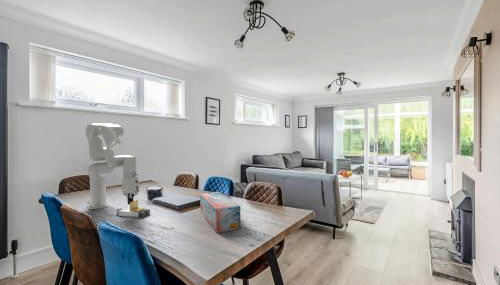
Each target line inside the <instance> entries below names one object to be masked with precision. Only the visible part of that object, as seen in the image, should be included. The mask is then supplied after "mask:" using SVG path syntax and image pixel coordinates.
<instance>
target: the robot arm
mask: <svg viewBox="0 0 500 285" xmlns="http://www.w3.org/2000/svg"><path fill="white" fill-rule="evenodd" d="M124 130H125V129H124V128H123V127H122V126H121V125H119V124H113V123H99V122H97V123H96V122H95V123H89V124H87V125H86V127H85V136H86V140H87V142H88V153H89V159H90V161H92V162H95V163H92V164H89V165H88V167H87V172H88V177H89V192H90V194H89V197H90V200H88V201H87V202H86V204H88V206H87V209H90V210H98V209H105V208H107V207H108V206H109V203H107V193H106V192H107V191H106V189H107V188H106V187H107V186H106V180H105V179H104V176H110V175H113V174H114V173H115V172H116V169H117V168H122V174H123V175H122V179H121V193H122V195H124V196H125V197H126V199H127V205H129V206H130V202H131V201H134V198H135V196H138V195H139V192H140V182H139V181H140V180H139V178H138V175H139V174H138V173H137V157H136V156H135V155H129V154H123V155H115V154H116V153H115V151H114V150H115V149H116V148H117V149H118V148H119V146H121V145H122V144H121V143H122V142H121V139H120V138H121V137H123V136H124V132H125V131H124ZM100 136H102V138H103V139H102V138H101V137H100ZM103 141H104V142H105V145H106V147H104V146H103V144H104V143H103ZM103 161H104V162H103Z"/></svg>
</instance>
